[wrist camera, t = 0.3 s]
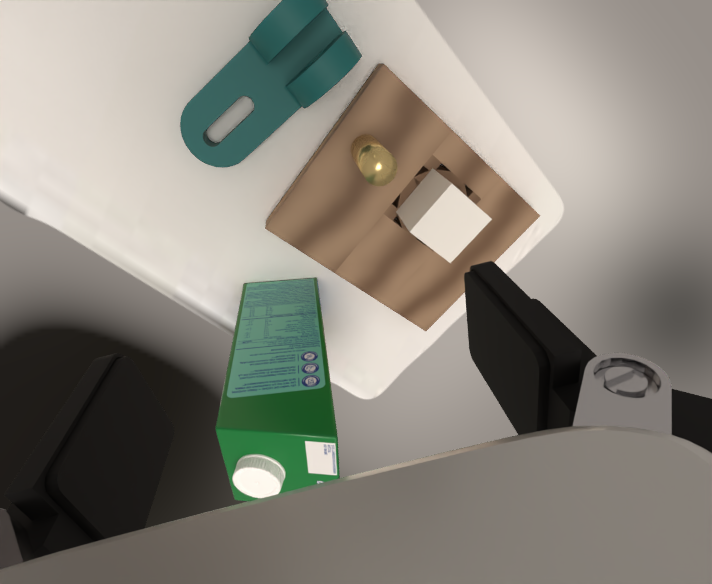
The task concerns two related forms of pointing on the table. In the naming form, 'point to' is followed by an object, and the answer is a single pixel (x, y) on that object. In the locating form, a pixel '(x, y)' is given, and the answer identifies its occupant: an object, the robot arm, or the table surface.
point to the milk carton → (278, 393)
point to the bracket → (270, 79)
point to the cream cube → (442, 216)
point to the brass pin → (373, 160)
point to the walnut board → (394, 204)
